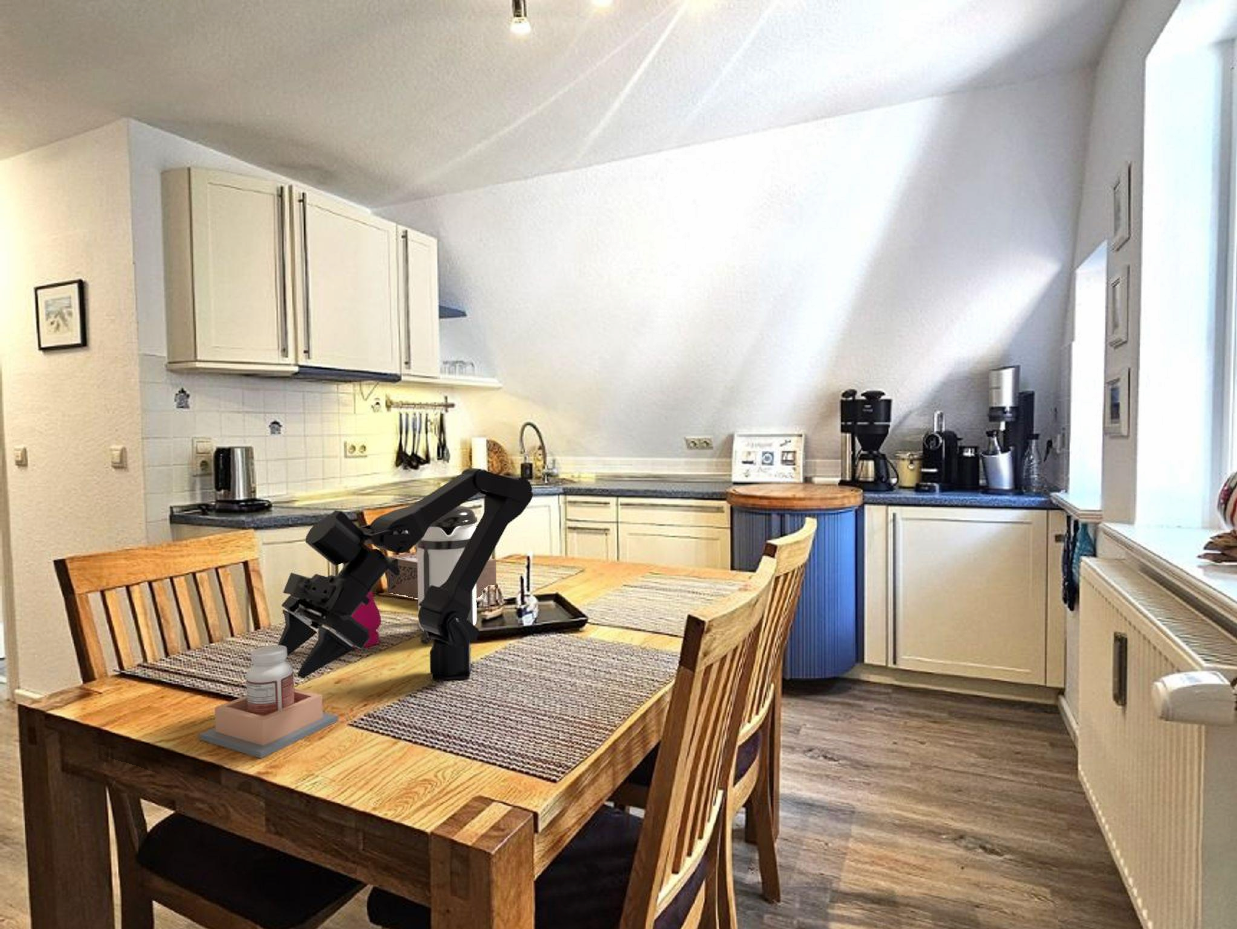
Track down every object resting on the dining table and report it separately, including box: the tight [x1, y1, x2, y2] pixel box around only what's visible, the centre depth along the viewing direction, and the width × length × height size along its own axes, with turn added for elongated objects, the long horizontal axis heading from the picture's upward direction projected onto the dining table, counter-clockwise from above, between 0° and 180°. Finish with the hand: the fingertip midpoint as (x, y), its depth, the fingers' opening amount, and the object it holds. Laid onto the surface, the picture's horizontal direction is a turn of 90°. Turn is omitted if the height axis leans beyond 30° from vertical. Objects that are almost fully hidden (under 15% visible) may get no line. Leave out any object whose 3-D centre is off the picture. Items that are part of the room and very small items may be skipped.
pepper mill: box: [351, 589, 382, 648], centre depth 142 cm, size 7×7×20 cm
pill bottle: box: [245, 644, 295, 716], centre depth 102 cm, size 6×6×11 cm
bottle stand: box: [198, 687, 339, 759], centre depth 102 cm, size 13×13×4 cm
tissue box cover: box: [386, 550, 497, 598], centre depth 182 cm, size 26×14×10 cm, turn 54°
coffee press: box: [415, 505, 478, 645], centre depth 148 cm, size 17×16×30 cm
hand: (286, 668), depth 103 cm, fingers open, 9 cm apart
